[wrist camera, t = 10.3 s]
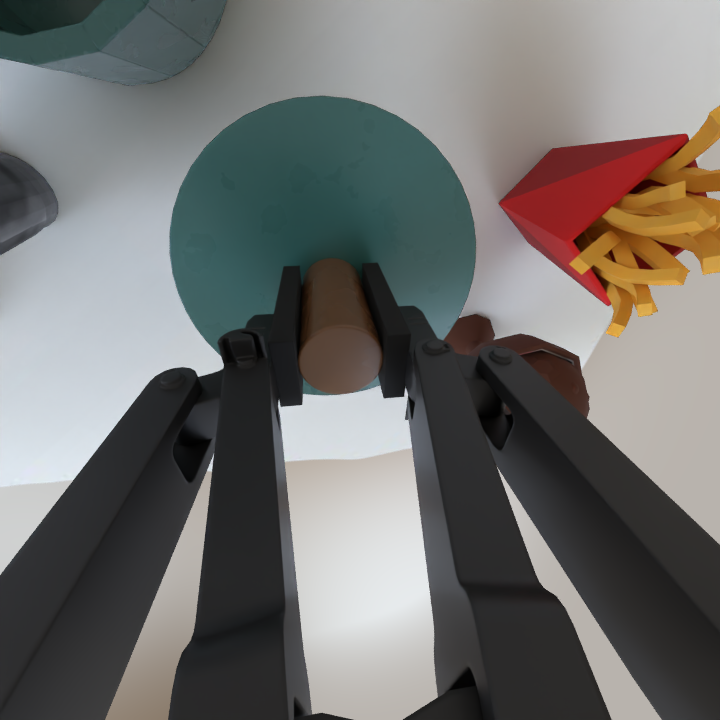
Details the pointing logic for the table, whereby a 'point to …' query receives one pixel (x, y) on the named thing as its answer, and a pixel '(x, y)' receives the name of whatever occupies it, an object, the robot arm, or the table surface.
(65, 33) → the tin
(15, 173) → the beverage cup
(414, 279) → the tin lid
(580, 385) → the ice cream bowl
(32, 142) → the table surface
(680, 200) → the french fries
